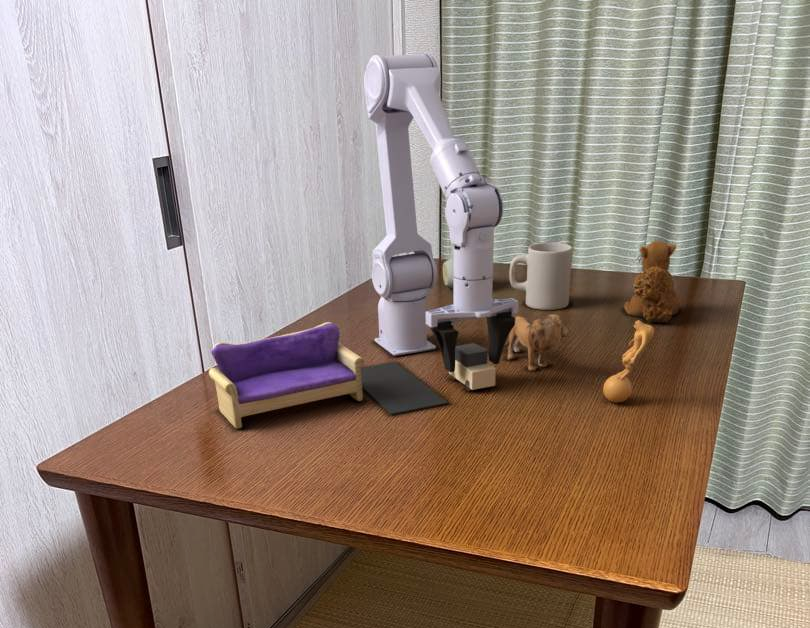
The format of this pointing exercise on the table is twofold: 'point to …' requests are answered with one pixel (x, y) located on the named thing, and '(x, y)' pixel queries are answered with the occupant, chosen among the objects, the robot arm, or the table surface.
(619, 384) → the figurine
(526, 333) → the lion figurine
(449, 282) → the air freshener
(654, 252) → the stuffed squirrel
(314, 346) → the toy sofa
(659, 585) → the table surface
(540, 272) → the mug
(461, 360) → the toy car
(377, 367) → the mat
